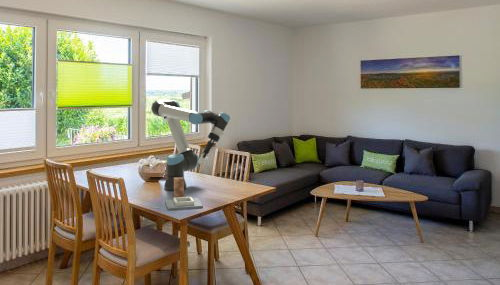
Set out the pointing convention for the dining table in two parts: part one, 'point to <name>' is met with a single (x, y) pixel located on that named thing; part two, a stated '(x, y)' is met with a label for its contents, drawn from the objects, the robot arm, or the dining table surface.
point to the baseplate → (183, 203)
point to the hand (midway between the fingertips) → (199, 162)
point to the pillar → (178, 187)
